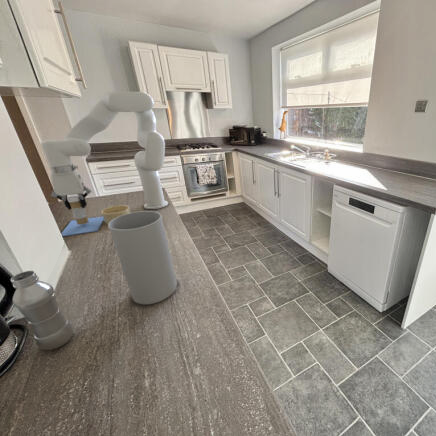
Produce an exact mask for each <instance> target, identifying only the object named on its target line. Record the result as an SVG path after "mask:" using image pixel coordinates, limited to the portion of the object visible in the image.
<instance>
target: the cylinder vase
mask: <svg viewBox="0 0 436 436" xmlns="http://www.w3.org/2000/svg"><path fill="white" fill-rule="evenodd" d="M164 225H165V224H164V221H163V216H162V214H161V213H160V212H158V211H155V210H141V211H134V212H131V213H128V214H125V215H121V216H119V217H117V218H115V219H113V220H111V221H110V222H109V223H108V224H107V227H108V230H109V233H110V237H111V239H112V242H113V245H114V249H115V251H116V254H117V257H118V260H119V263H120V266H121V269H122V273H123V275H124V277H125V278H124V279H125V280H126V283H127V286H128V289H129V292H130V295H131V298H132V300H133V301H134V302H135V303H136V304H139V305H154V304H157V303H160V302H162V301H164V300H166V299H167V298H169V297H170V296H171V295H172V294H173V293H174V292H175V291H176V290H177V286H178V282H177V279H176V273H175V270H174V269H175V268H174V265H173V260H172V256H171V251H170V247H169V244H168V239H167V235H166V230H165V226H164Z"/></svg>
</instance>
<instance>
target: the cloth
mask: <svg viewBox="0 0 436 436" xmlns="http://www.w3.org/2000/svg"><path fill="white" fill-rule="evenodd" d="M87 218H88V221H89V222H88V223H86V224H83V225H78V224H77V221H76V219H74V220H70V222H69V223H68V224H67V226H66V227H65V228H64V229H63V230H62V231H61V233H60V234H62V236H63V237H68V236H75V235H82V234H87V233H94V232H98V231H99V230H100V228H101V226H102V224H103V222H104V220H103V217H102V216H97V217H87Z"/></svg>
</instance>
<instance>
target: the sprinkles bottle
mask: <svg viewBox="0 0 436 436" xmlns="http://www.w3.org/2000/svg"><path fill="white" fill-rule="evenodd" d="M67 200H68V202H69V203H70V206H71V209H70V210H71V211H72V214H73V217H74V220H76V221H77V224H78V225H83V224H86V223H88V222H89V221H88V218H89V217H88V216H87V213H86V210H85V208H82V205H81V203H80V200H81V199H80V197H79V196H78V195H69V196H67Z"/></svg>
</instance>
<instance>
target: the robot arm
mask: <svg viewBox="0 0 436 436" xmlns="http://www.w3.org/2000/svg"><path fill="white" fill-rule="evenodd" d="M154 106H155V102H154V99H153V97H152V96H151V95H150V94H149V93H147V92H145V91H116V90H115V91H113V90H112V91H105V92H103V93H101V95H100V96H99V97H98V98H97V100H96V101H95V102H94V104H93V105H92V106H91V107H90V109H89V110H88V111H87V112H86V114H85V115H83V117H82V118H80V120H79V121H78V122H77V123H76V124H75V125H74V126H72V128H71V129H70V130H69V132H67V134H66V135H65V137H64V138H63V140H62V139H44V140H42V141H40V146H41V149H42V152H43V154H44V156H45V159H46V161H47V164H48V166H49V169H50V171H51V173H50V180H51V184H52V187H53V190H52V192H51V193H50V197H51V198H52V197H53V198H55V199H58V200H60V201H61V202H63V203H64V206H65V207H66V208H67V210H68V211H71V210H72V209H71V206H70V203H69V202H68V200H67V198H68V196H74V195H76V196H79V197H80V199H81V200H80V203H81V205H82V208H84V209H85V208H86V207H87V206H88V205H87V200H86V197H87V196H88V195H90V194H91V193H92V190H91V189H90V188H89V187H88V186H86V185H85V182H84V180H83V178H82V176H81V174H80V173H79V171H78V170H79V167H78V165H74V164H73V161H72V159H71V157H85V156H87V155H89V154H90V153H91V150H92V147H91V144H90V143H89V141H90V140H91V139H92V138H94V136H96V135H97V134H99V133H102V132H103V131H105V130H106V129H108V127H109V126H110V124H111V123H112V122H113V121H114V119H115V118H116V116H117V115H118V114H119V113H134V114H135V116H136V118H137V135H136V141H137V143H138V145H139V146H140V147H141V148H143V149H144V150H140V151H138V152H136V153H135V155H134V158H133V161H134V164H135V167H136V169H137V172H138V175H139V178H140V179H139V180H140V183H141V186H142V191H143V196H144V199H145V204H143V208H144V209H146V210H159V209H163V208H165V207H167V206H168V205H169V201H167V200H166V199H165V197H164V196H165V195H164V191H163V187H162V183H161V178H160V173H159V171H160V170H162V168H163V167H164V165H165V155H166V153H165V152H166V141H165V139H164V137H163V135H162V134H161V133H159V132H158V131H157V118H156V115H155V113H154V111H153V108H154ZM77 169H78V170H77Z"/></svg>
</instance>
